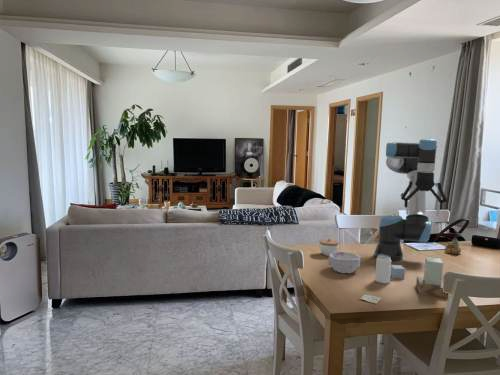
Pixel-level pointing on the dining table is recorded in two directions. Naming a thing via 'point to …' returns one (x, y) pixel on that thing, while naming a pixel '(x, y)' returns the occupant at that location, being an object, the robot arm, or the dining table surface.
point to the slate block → (397, 271)
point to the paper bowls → (344, 261)
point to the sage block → (433, 271)
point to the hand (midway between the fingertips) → (422, 215)
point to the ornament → (453, 247)
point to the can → (383, 269)
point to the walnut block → (430, 288)
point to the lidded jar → (328, 246)
